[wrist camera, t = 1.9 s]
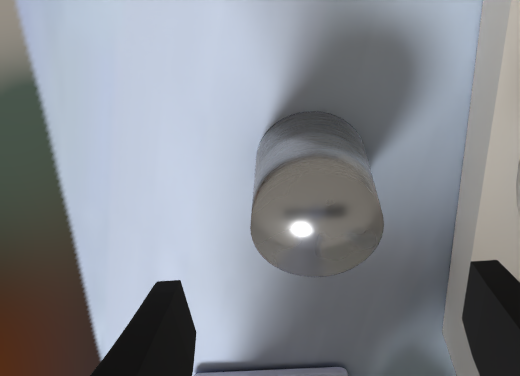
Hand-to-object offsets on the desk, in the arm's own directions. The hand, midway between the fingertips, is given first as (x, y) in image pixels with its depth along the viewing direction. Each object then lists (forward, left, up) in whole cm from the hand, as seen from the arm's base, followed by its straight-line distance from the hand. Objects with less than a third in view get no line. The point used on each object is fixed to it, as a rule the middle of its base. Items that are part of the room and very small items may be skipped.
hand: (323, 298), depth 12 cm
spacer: (0, 0, -7) cm, 7 cm away
